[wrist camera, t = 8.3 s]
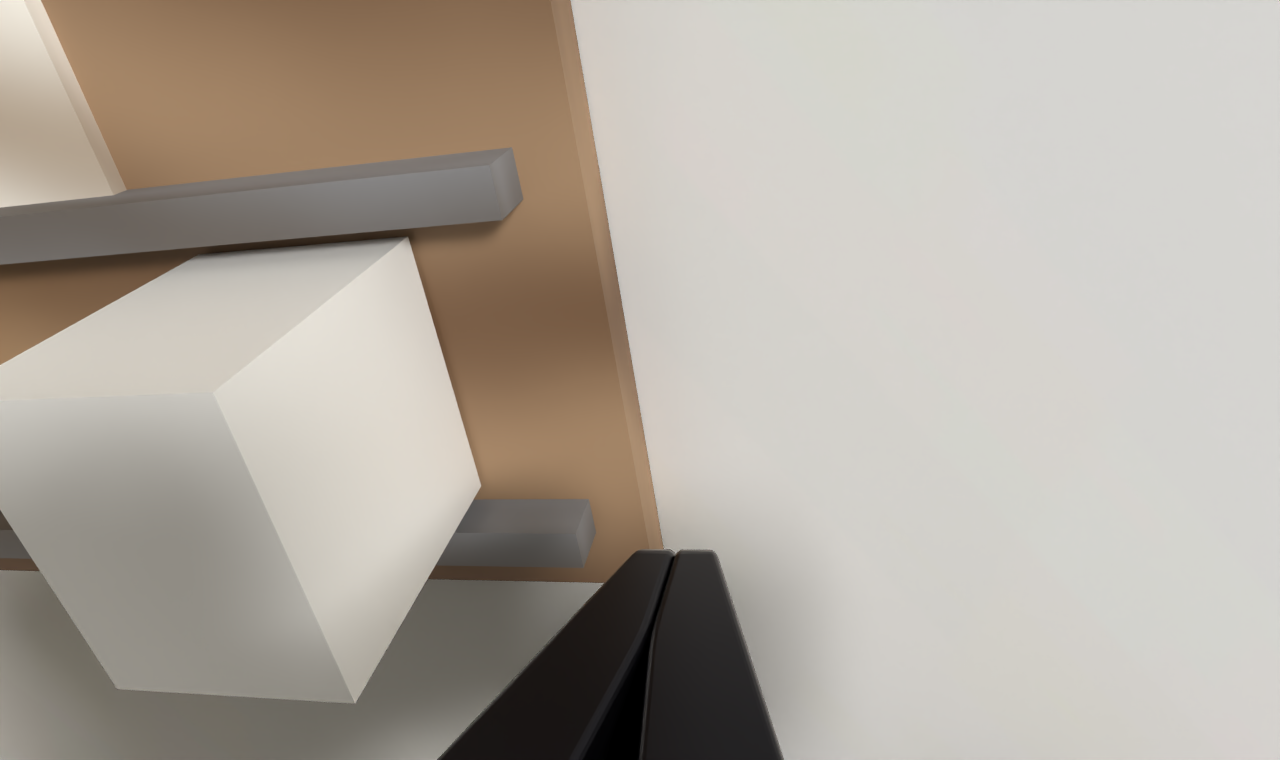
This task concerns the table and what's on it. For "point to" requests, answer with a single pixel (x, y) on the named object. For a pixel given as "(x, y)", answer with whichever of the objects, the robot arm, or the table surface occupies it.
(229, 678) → the ivory matte cube
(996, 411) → the table surface
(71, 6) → the base
